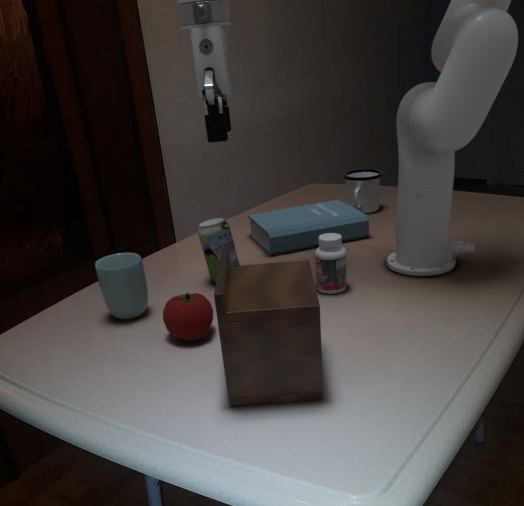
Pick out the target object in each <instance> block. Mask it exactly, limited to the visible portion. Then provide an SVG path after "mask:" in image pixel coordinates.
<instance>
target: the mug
mask: <svg viewBox="0 0 524 506" xmlns="http://www.w3.org/2000/svg"><path fill="white" fill-rule="evenodd" d="M342 176H343V179H345V203H346V204H347V205H349V206H351V207H353V208H355V209H357V210H359V211H361V212H362V213H364V214H366V215H368V214H372V213H375V212H377V211H378V210H380V191H381V190H380V189H381V188H380V187H381V185H380V184H381V177H383V172H382V171H381V170H379V169H373V168H362V169H353V170H349V171H346V172H344V173H343V175H342Z"/></svg>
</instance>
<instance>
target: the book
mask: <svg viewBox="0 0 524 506" xmlns="http://www.w3.org/2000/svg"><path fill="white" fill-rule="evenodd" d="M247 218H248V219H249V221H250V222H249V223H250V233H249V237H250V238H251V239H252V240H254V242H255V243H256V244H258V245H259V247H260V248H262V250H264V252H265V253H267V254H268V255H269V256H275V255H280V254H286V253H290V252H291V253H292V252H297V251H301V250H307V249H312V248H319V247H320V246H319V243H318V242H319V236H320V235H322V234H326V233H337V234H340V235H341V236H342V243H343V242H350V241H355V240H361V239H365V238H368V237H369V235H370V219H369V216H368V214H364V213H362V212H361V211H359V210H357V209H355V208H353V207H351V206H349V205H347V204H346V202H344V201H342V200H340V199H334V200H328V201H321V202H316V203H311V204H304V205H299V206H293V207H287V208H286V207H285V208H281V209H276V210H270V211H263V212H257V213H251V214H248V215H247Z"/></svg>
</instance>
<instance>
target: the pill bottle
mask: <svg viewBox="0 0 524 506" xmlns="http://www.w3.org/2000/svg"><path fill="white" fill-rule="evenodd" d="M318 243H319V246H318V247H316V250H315V251H314V252H315V253H314V258H315V259H314V260H315V287H316V291H317V292H319V293H322V294H326V295H327V294H329V295H334V294H339V293H343V292H344V291H345V290H346V289H347V250H346V248H345V247H344V246H342V244H343V242H342V236H341V235H340V234H337V233H326V234H322V235H320V236H319V242H318Z"/></svg>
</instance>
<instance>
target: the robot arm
mask: <svg viewBox="0 0 524 506" xmlns="http://www.w3.org/2000/svg"><path fill="white" fill-rule="evenodd" d="M511 2H512V0H450V2H449V5H448V7H447V9H446V11H445V13H444V15H443V18H442V20H441V23H440V24H439V26H438V29H437V31H436V34H435V35H434V37H433V40H432V45H431V50H430V54H431V55H430V56H431V61H432V64H433V65H434V67H435V68H436V70H437V71H438V72H439V73H440V74H439V76H438V79H437V81H425V82H423V83H419V84H417V85H415V86H413V87H412V88H411V89H409V90H408V91H407V92H406V93H405V94H404V96H403V97H402V99H401V101H400V103H399V105H398V109H397V113H396V120H395V121H396V123H395V124H396V138H397V150H398V152H397V153H398V175H397V178H398V179H397V196H396V198H397V200H396V201H397V202H396V224H395V225H396V226H395V251H394V252H392V253H390V254H389V255H388V256H387V257H386V265H387V267H388V269H390V270H391V271H393V272H395V273H397V274H401V275H406V276H412V277H430V276H438V275H442V274H445V273H447V272H450V271H452V270H453V269H454V268H455V267H456V257H457V256H458V255H470V254H474V253H475V248H476V247H475V243H474V242H471V243H464V241H463V240H458V241H452V240H450V228H451V214H452V203H453V202H452V201H453V191H454V182H455V181H454V180H455V170H456V169H455V168H456V167H455V166H456V159H455V158H456V156H455V155H456V154H455V152H456V151H460V150H461V149H463V148H464V147H466V146H467V145H468V144H469V143H470V142H471V141H472V140H473V139H474V138H475V136H476V135H477V134H478V132H479V131H480V129H481V127H482V125H483V124H484V122H485V120H486V118H487V117H488V114H489V112H490V111H491V108H492V106H493V104H494V102H495V101H496V98H497V96H498V94H499V92H500V90H501V88H502V86H503V85H504V82H505V80H506V78H507V77H508V74H509V72H510V70H511V68H512V66H513V63H514V61H515V58H516V55H517V50H518V44H519V32H518V26H517V24H516V21H515V20H514V18H513V17H512V16H511V15H510V13H509V12H508V10H509V7H510V4H511ZM177 5H178V11H179V18H180V24H181V31H189V36H190V44H191V45H190V46H191V51H192V59H193V65H194V73H195V79H196V84H197V85H196V86H197V90H198V95H199V98H200V100H202V101H203V109H204V122H205V130H206V131H205V132H206V139H207V142H208V143H210V144H213V143H221V142H227V141H229V140H228V139H229V134H228V132H231V131H232V123H231V114H230V107H229V105H228V99H231V97H232V96H233V94H234V86H233V79H232V69H231V62H230V53H229V46H228V40H227V34H226V29H225V27H230V26H232V22H231V12H230V3H229V0H177Z"/></svg>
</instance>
